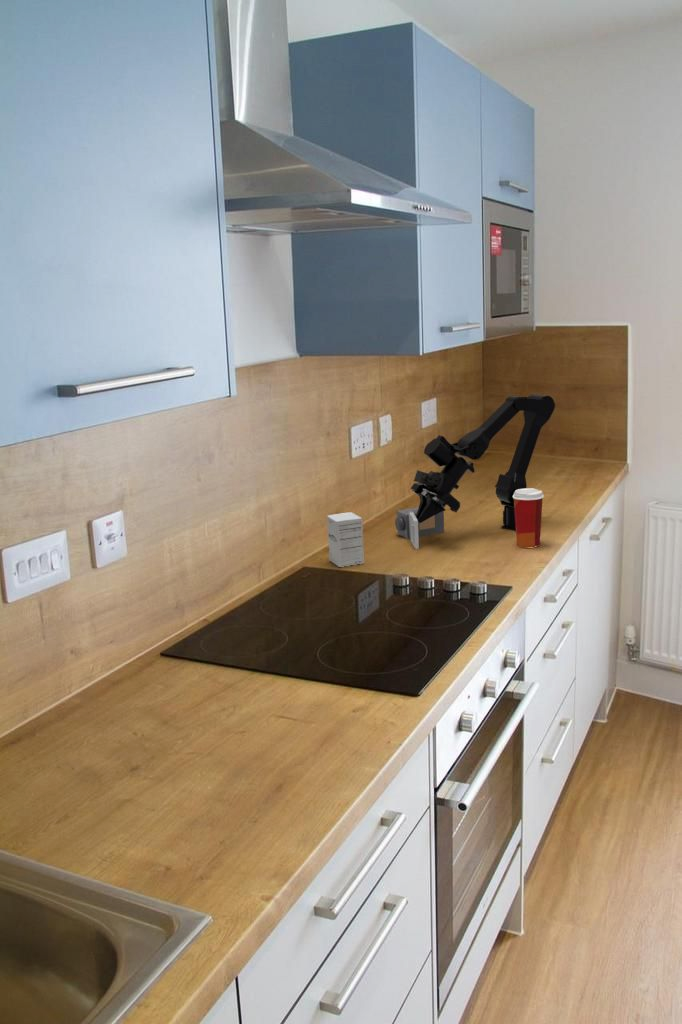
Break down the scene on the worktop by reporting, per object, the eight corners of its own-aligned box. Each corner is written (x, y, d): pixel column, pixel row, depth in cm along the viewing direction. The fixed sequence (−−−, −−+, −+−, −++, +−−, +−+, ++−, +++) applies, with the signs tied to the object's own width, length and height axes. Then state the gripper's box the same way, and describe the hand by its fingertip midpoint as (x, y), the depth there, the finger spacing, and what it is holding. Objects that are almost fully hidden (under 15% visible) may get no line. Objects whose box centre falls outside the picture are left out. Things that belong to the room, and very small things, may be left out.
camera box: (434, 527, 262) (433, 502, 261) (444, 532, 257) (443, 507, 255) (394, 534, 258) (393, 509, 256) (403, 539, 252) (402, 513, 250)
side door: (419, 548, 242) (418, 520, 240) (413, 549, 242) (412, 521, 240) (414, 538, 253) (413, 511, 251) (408, 538, 253) (407, 511, 251)
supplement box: (328, 561, 236) (326, 515, 233) (354, 556, 239) (352, 511, 236) (338, 568, 230) (335, 521, 226) (365, 564, 232) (362, 517, 229)
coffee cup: (532, 539, 246) (532, 486, 242) (550, 546, 238) (550, 492, 234) (506, 543, 243) (506, 490, 239) (523, 551, 235) (522, 496, 232)
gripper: (414, 454, 251) (382, 498, 249) (447, 464, 234) (413, 511, 233) (440, 477, 255) (409, 520, 254) (475, 488, 239) (441, 535, 237)
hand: (417, 521), depth 244 cm, fingers closed
